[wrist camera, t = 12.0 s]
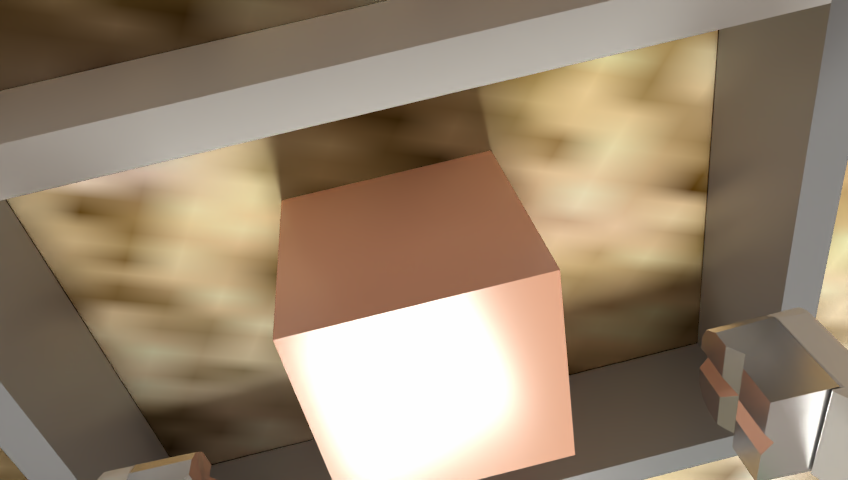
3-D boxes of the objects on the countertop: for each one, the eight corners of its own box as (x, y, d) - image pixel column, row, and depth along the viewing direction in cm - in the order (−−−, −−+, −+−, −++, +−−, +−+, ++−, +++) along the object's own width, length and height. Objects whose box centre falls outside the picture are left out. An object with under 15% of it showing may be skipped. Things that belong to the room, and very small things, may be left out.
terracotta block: (489, 148, 14) (559, 270, 10) (512, 309, 16) (575, 454, 12) (281, 198, 14) (272, 339, 10) (336, 352, 16) (346, 512, 12)
